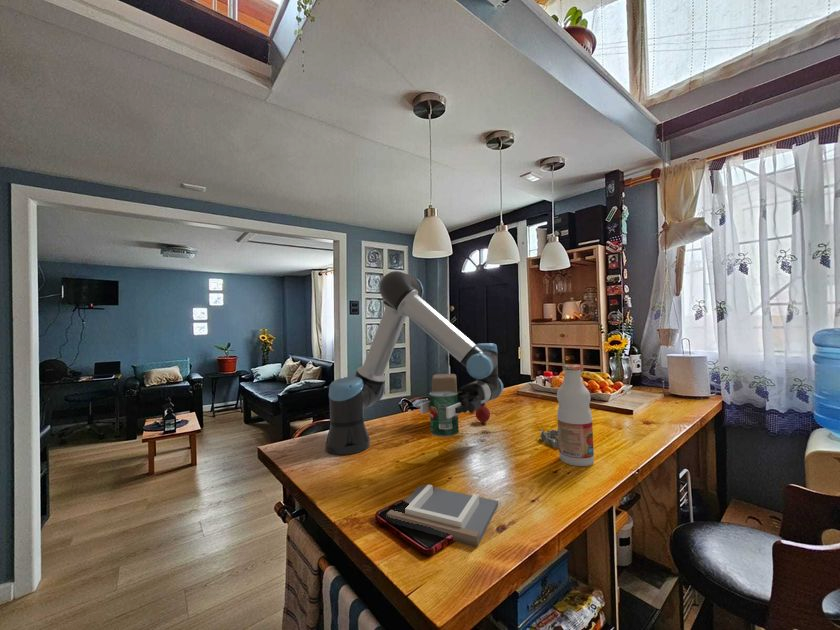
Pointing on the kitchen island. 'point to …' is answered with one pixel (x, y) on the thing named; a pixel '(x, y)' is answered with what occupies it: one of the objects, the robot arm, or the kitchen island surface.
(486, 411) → the onion
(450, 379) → the wooden block
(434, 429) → the canned tomato
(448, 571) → the kitchen island surface
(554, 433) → the egg carton
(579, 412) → the fruit juice
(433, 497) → the board
